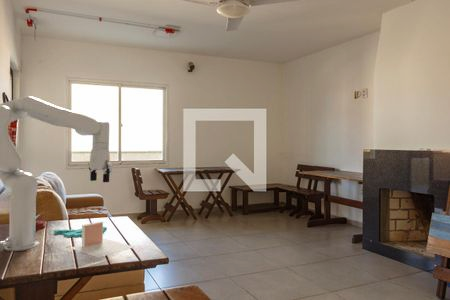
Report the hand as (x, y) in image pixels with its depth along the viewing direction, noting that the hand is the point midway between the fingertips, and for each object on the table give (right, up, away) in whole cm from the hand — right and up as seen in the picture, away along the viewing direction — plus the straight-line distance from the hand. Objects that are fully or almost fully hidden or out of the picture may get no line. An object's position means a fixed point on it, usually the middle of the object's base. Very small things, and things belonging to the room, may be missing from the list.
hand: (99, 181), depth 171 cm
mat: (+10, -26, -24) cm, 37 cm away
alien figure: (-7, -26, 0) cm, 27 cm away
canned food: (-37, -25, +10) cm, 46 cm away
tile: (+4, -25, -20) cm, 33 cm away
